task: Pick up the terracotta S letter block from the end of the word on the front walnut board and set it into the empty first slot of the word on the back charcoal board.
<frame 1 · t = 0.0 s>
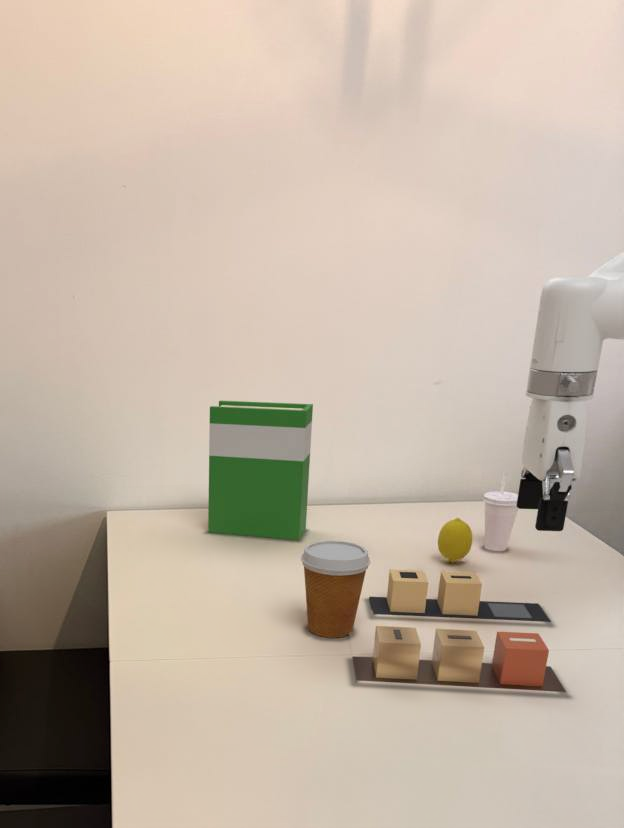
hand: (538, 518, 113), 18 cm above the table, tool pointing down, fingers open, 9 cm apart
disposable coffee cup: (330, 630, 125), on the table
s block: (516, 676, 109), resting on front word
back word: (456, 611, 130), on the table
lemon: (452, 563, 150), on the table
front word: (454, 675, 111), on the table
smoothie: (495, 548, 157), on the table
hardback book: (257, 531, 169), on the table
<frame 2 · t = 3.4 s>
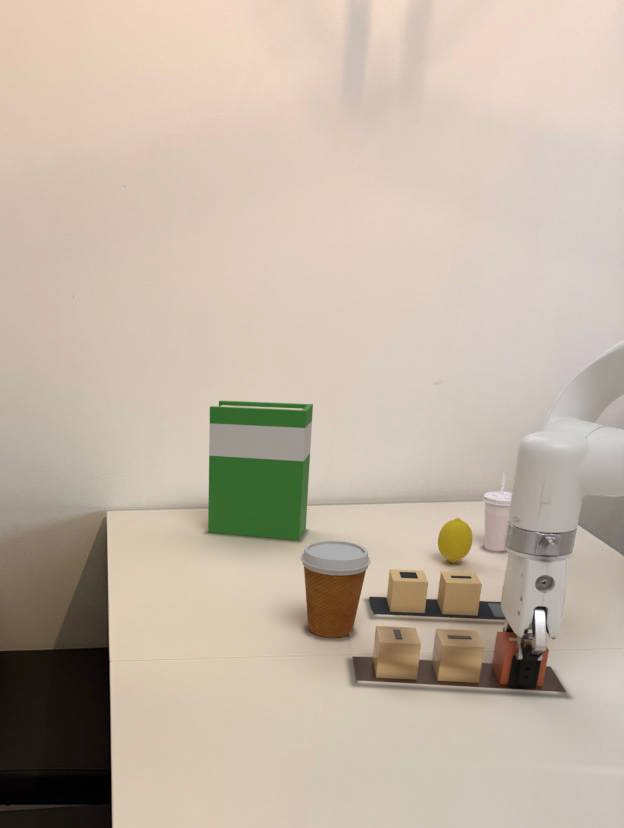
hand: (516, 674, 109), 1 cm above the table, tool pointing down, fingers closed on s block, 5 cm apart
s block: (516, 676, 109), resting on front word, touching gripper
everything else where it was.
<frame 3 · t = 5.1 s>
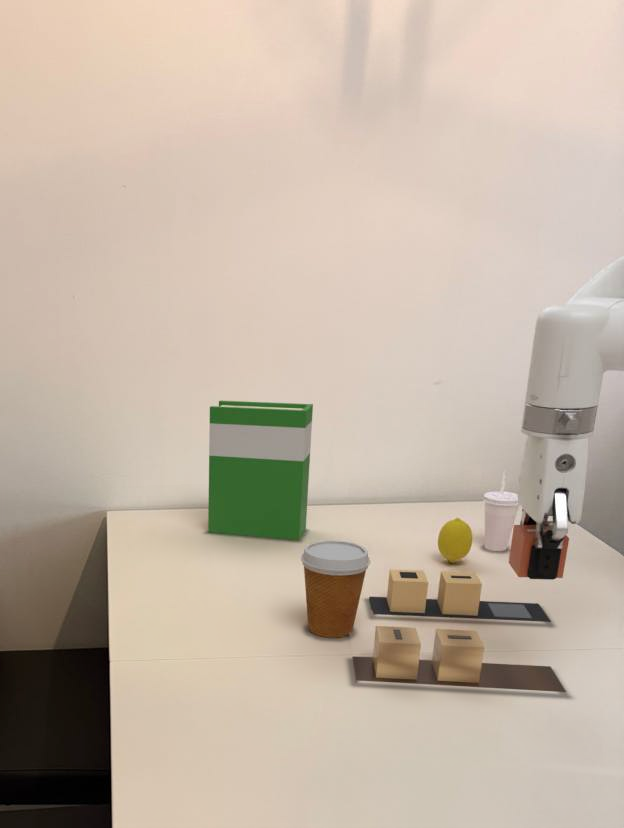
hand: (535, 568, 105), 14 cm above the table, tool pointing down, fingers closed on s block, 5 cm apart
s block: (534, 570, 106), point 14 cm above the table, touching gripper
everything else where it was.
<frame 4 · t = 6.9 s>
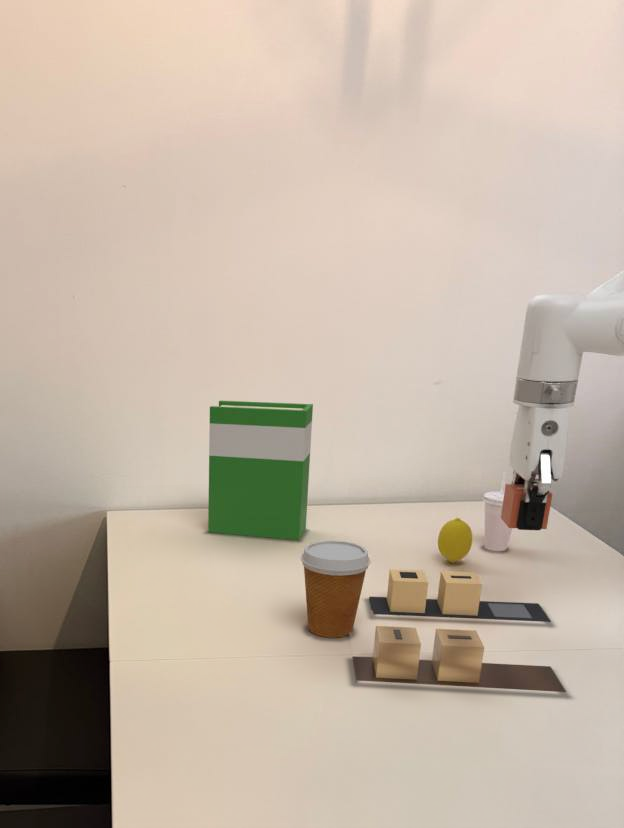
hand: (523, 521, 123), 14 cm above the table, tool pointing down, fingers closed on s block, 5 cm apart
s block: (523, 523, 123), point 14 cm above the table, touching gripper
everything else where it was.
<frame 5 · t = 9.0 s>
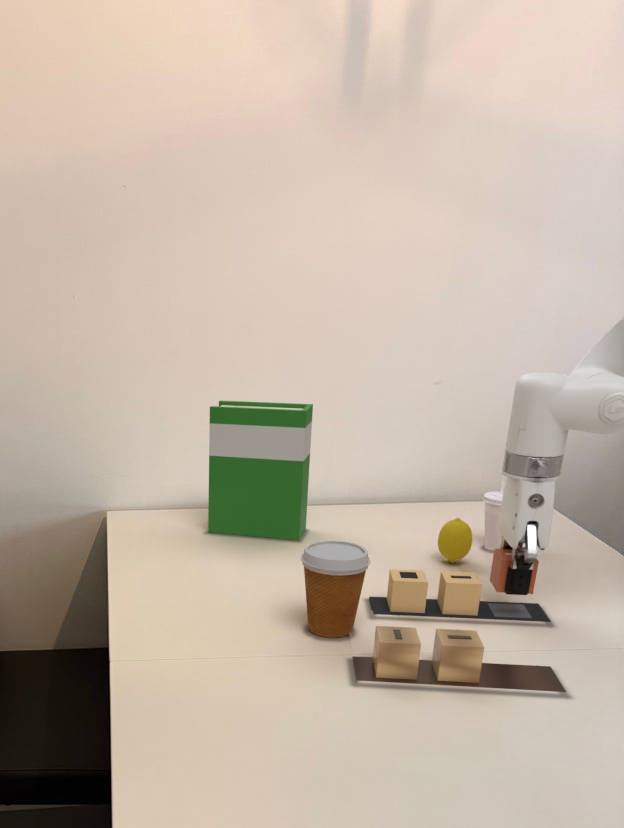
hand: (511, 585, 127), 4 cm above the table, tool pointing down, fingers closed on s block, 5 cm apart
s block: (510, 586, 128), point 4 cm above the table, touching gripper
everything else where it was.
when the fingers open (1 cm above the table, at t = 10.4 s): s block stays where it is, resting on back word.
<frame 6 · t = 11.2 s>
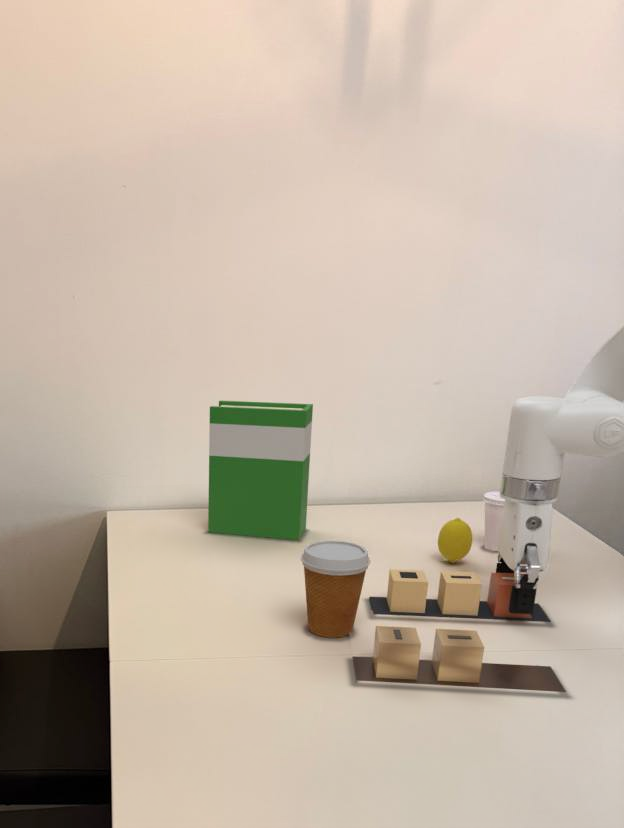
hand: (512, 600, 128), 2 cm above the table, tool pointing down, fingers open, 9 cm apart
s block: (507, 610, 129), resting on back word
everything else where it was.
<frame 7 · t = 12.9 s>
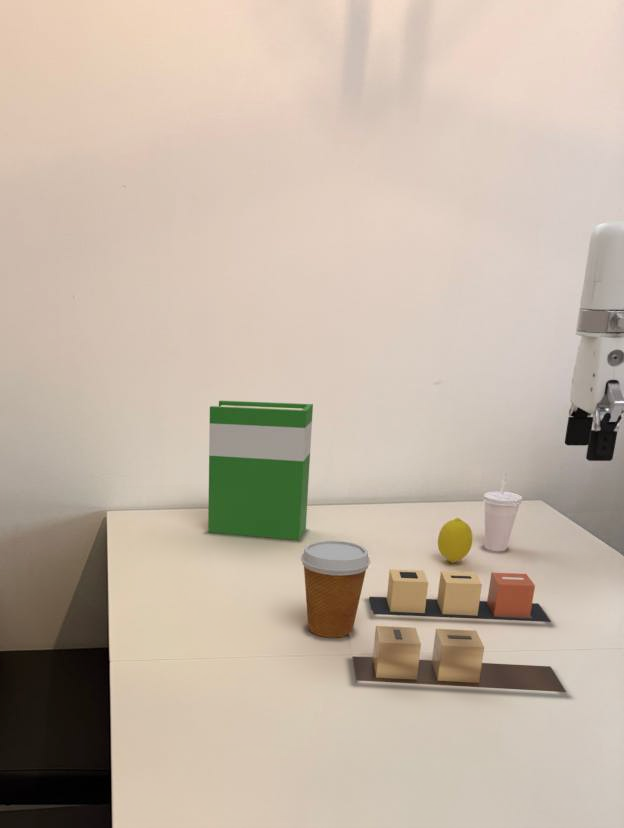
hand: (587, 452, 121), 24 cm above the table, tool pointing down, fingers open, 9 cm apart
nothing on the table moved.
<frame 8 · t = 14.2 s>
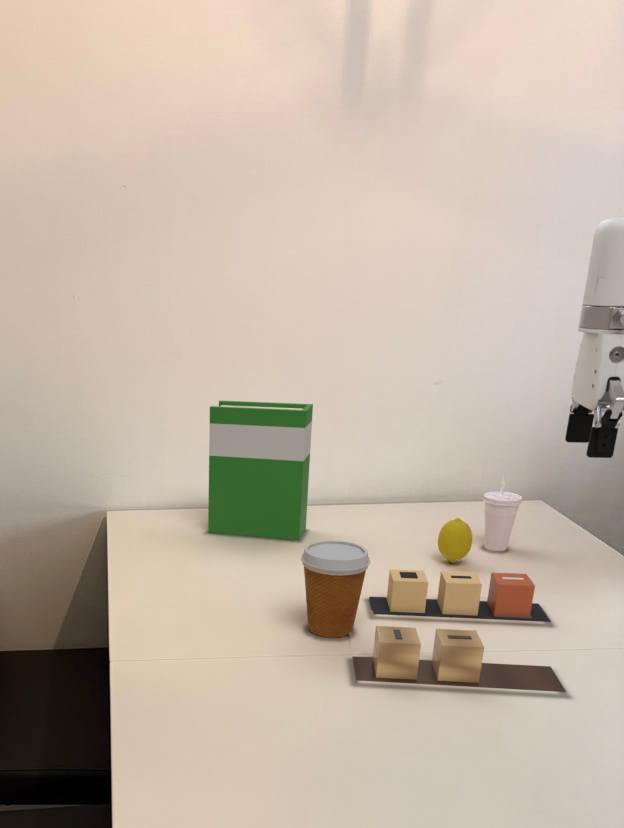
hand: (587, 449, 120), 24 cm above the table, tool pointing down, fingers open, 9 cm apart
nothing on the table moved.
at the end: s block 0.2 cm from the target spot on the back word, point 0.5 cm above the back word's base; s block tilted 0°; the gripper is holding nothing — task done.
